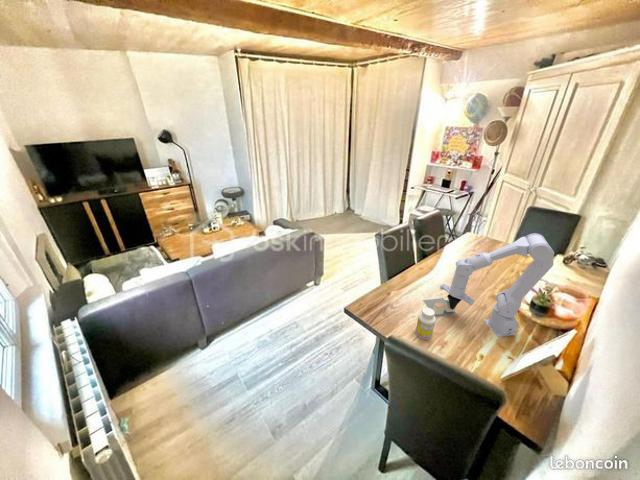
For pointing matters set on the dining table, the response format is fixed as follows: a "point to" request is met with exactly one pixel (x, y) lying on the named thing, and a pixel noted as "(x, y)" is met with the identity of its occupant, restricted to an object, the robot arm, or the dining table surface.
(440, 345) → the dining table surface
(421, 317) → the supplement bottle
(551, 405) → the dining table surface
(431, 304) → the mat
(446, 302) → the slab
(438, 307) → the slab
